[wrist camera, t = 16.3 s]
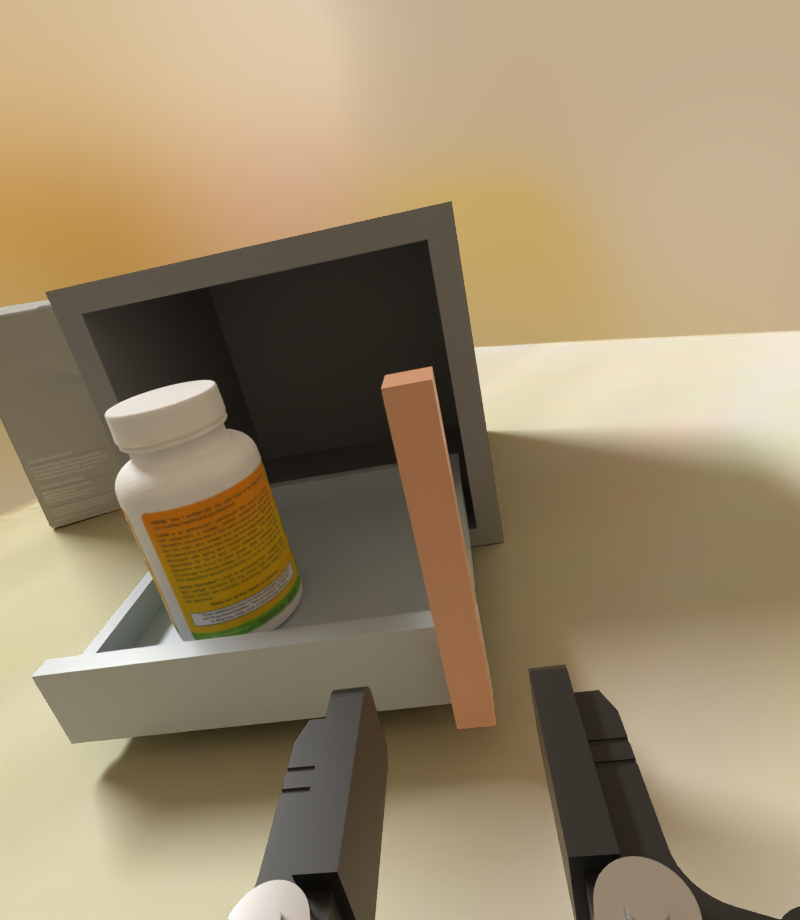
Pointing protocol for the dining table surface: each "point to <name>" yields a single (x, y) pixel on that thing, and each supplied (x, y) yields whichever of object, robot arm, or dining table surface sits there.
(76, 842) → the dining table surface
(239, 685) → the drawer
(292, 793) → the robot arm
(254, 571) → the supplement bottle
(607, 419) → the dining table surface
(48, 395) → the skincare box
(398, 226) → the cabinet
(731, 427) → the dining table surface
